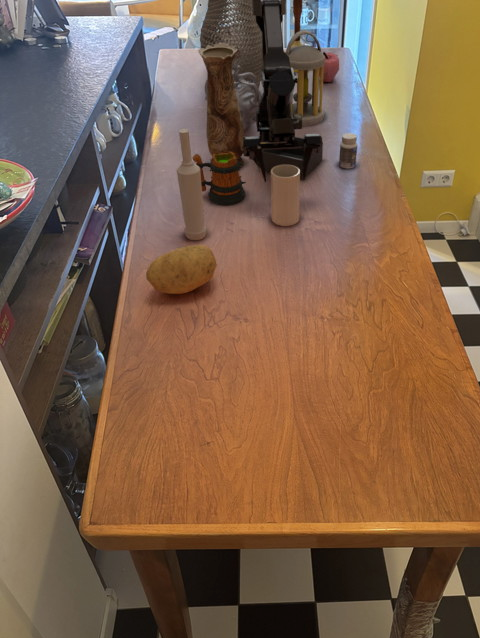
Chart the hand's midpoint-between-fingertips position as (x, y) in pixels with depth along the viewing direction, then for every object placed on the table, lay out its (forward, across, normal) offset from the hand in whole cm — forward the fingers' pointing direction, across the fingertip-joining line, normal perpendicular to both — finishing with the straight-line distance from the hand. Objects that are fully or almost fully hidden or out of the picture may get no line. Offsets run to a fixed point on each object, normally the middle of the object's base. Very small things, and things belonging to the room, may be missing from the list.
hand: (284, 180), depth 144 cm
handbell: (-71, +16, +84) cm, 111 cm away
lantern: (-37, +12, +50) cm, 63 cm away
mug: (-1, -16, +14) cm, 21 cm away
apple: (-60, +25, +72) cm, 97 cm away
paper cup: (+8, 0, +5) cm, 9 cm away
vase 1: (-52, -8, +64) cm, 83 cm away
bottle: (+12, -22, +2) cm, 25 cm away
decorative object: (-74, -9, +86) cm, 114 cm away
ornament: (-32, -9, +45) cm, 56 cm away
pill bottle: (-12, +20, +25) cm, 34 cm away
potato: (+26, -24, -13) cm, 38 cm away
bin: (-13, +5, +26) cm, 29 cm away
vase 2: (-15, -13, +28) cm, 34 cm away
